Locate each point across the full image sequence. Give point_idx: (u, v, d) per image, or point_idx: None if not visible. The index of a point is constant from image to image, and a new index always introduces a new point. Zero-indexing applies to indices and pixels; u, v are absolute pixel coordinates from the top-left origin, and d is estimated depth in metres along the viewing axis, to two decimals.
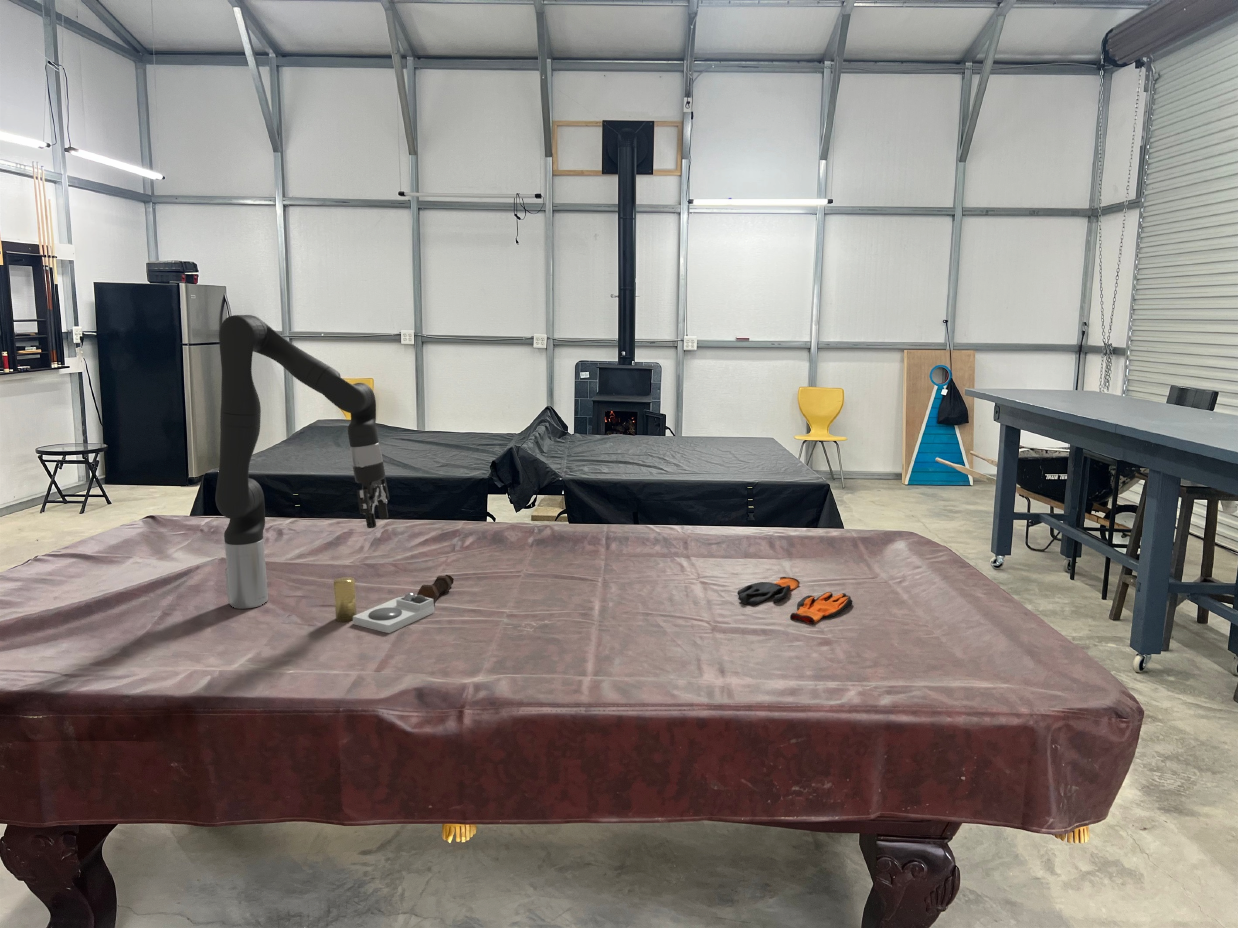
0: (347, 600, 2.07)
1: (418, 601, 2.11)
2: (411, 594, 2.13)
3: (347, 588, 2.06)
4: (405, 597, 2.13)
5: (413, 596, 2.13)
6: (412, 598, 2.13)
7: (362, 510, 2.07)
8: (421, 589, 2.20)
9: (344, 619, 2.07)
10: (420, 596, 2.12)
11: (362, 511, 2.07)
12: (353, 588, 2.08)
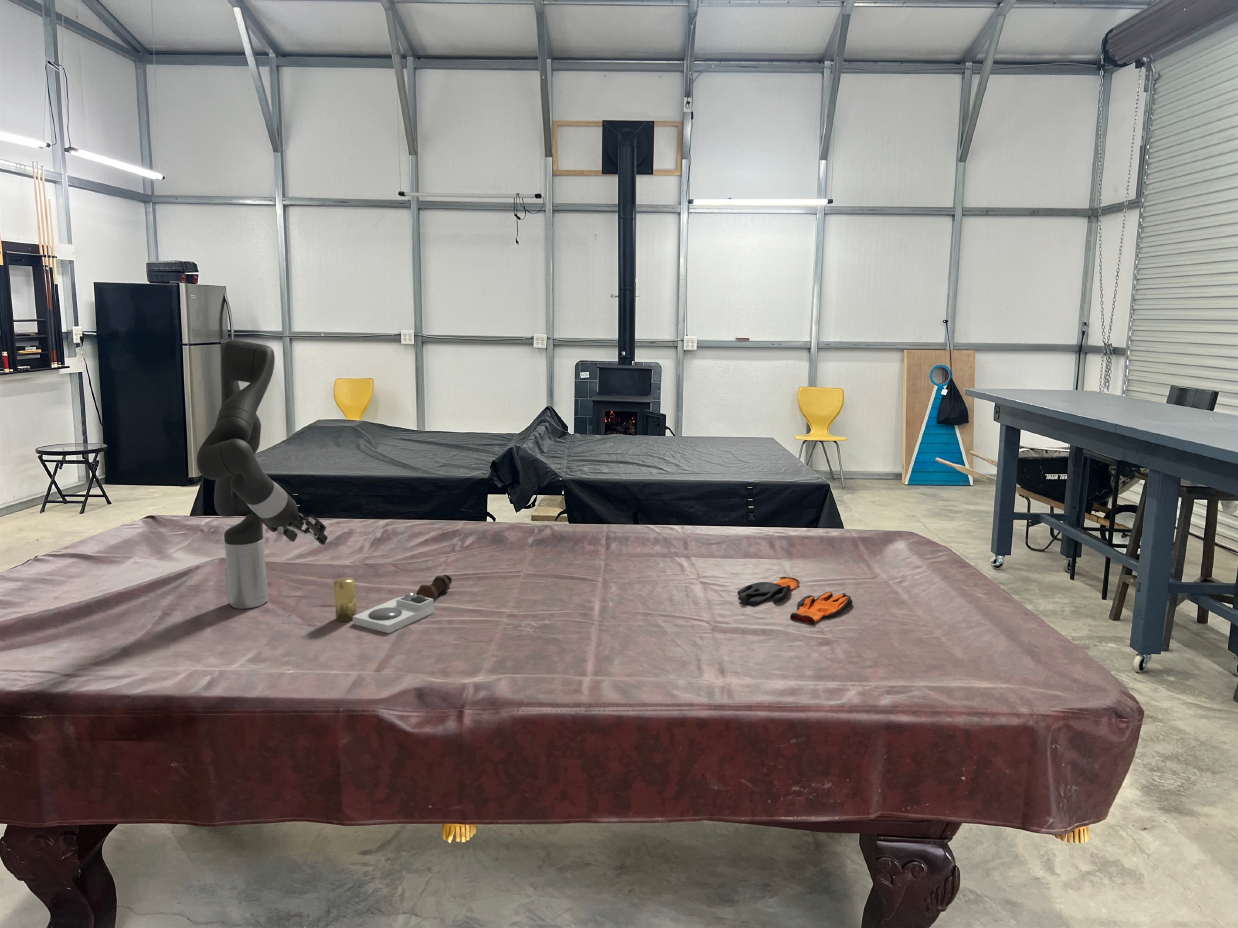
0: (347, 600, 2.07)
1: (418, 601, 2.11)
2: (411, 594, 2.13)
3: (347, 588, 2.06)
4: (405, 597, 2.13)
5: (413, 596, 2.13)
6: (412, 598, 2.13)
7: None
8: (420, 589, 2.19)
9: (344, 619, 2.07)
10: (420, 596, 2.12)
11: None
12: (353, 588, 2.08)
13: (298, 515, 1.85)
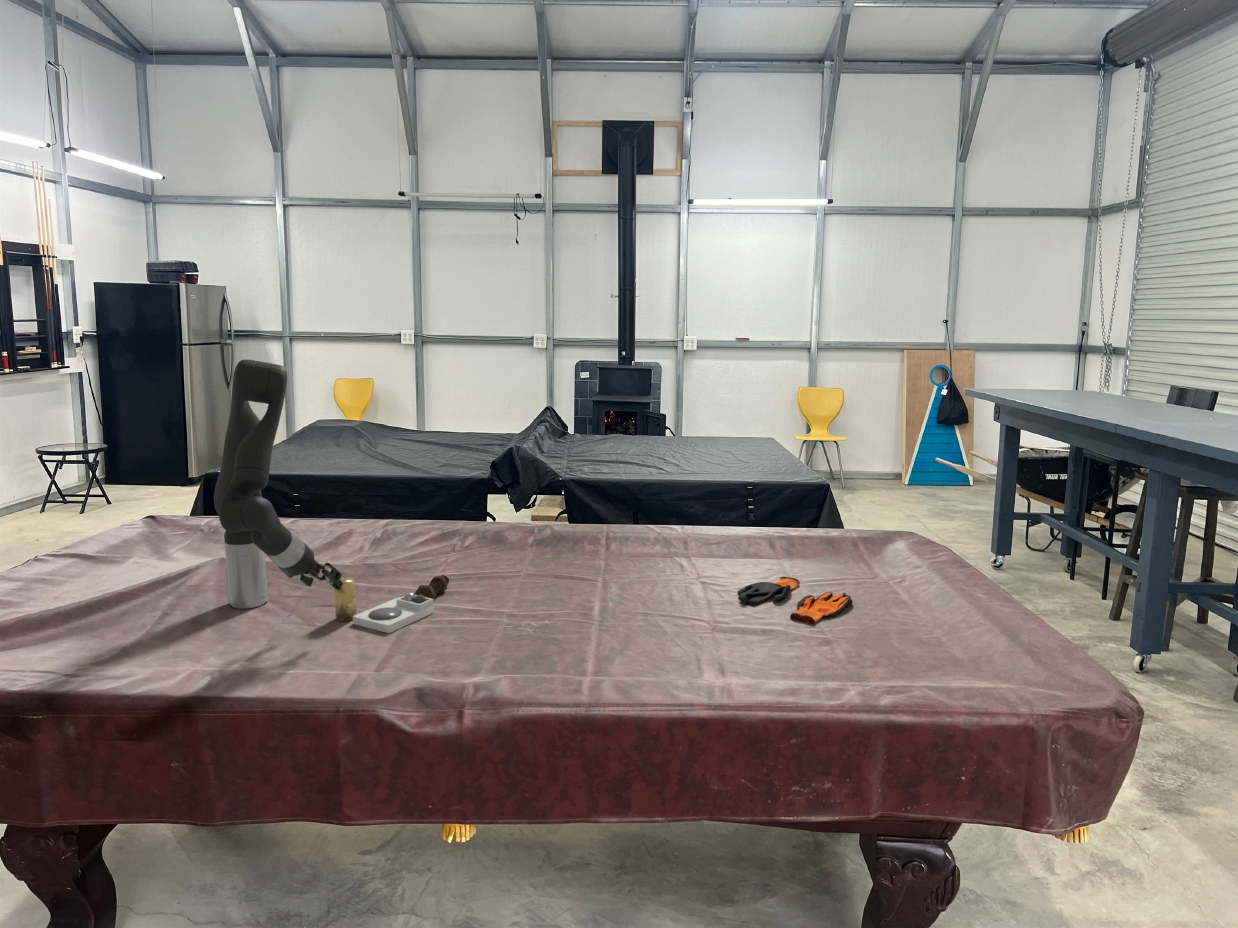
0: (347, 600, 2.07)
1: (418, 601, 2.11)
2: (411, 594, 2.13)
3: (347, 588, 2.06)
4: (405, 597, 2.13)
5: (413, 596, 2.13)
6: (412, 598, 2.13)
7: None
8: (418, 590, 2.19)
9: (344, 619, 2.07)
10: (420, 596, 2.12)
11: None
12: (353, 588, 2.08)
13: (315, 563, 1.92)
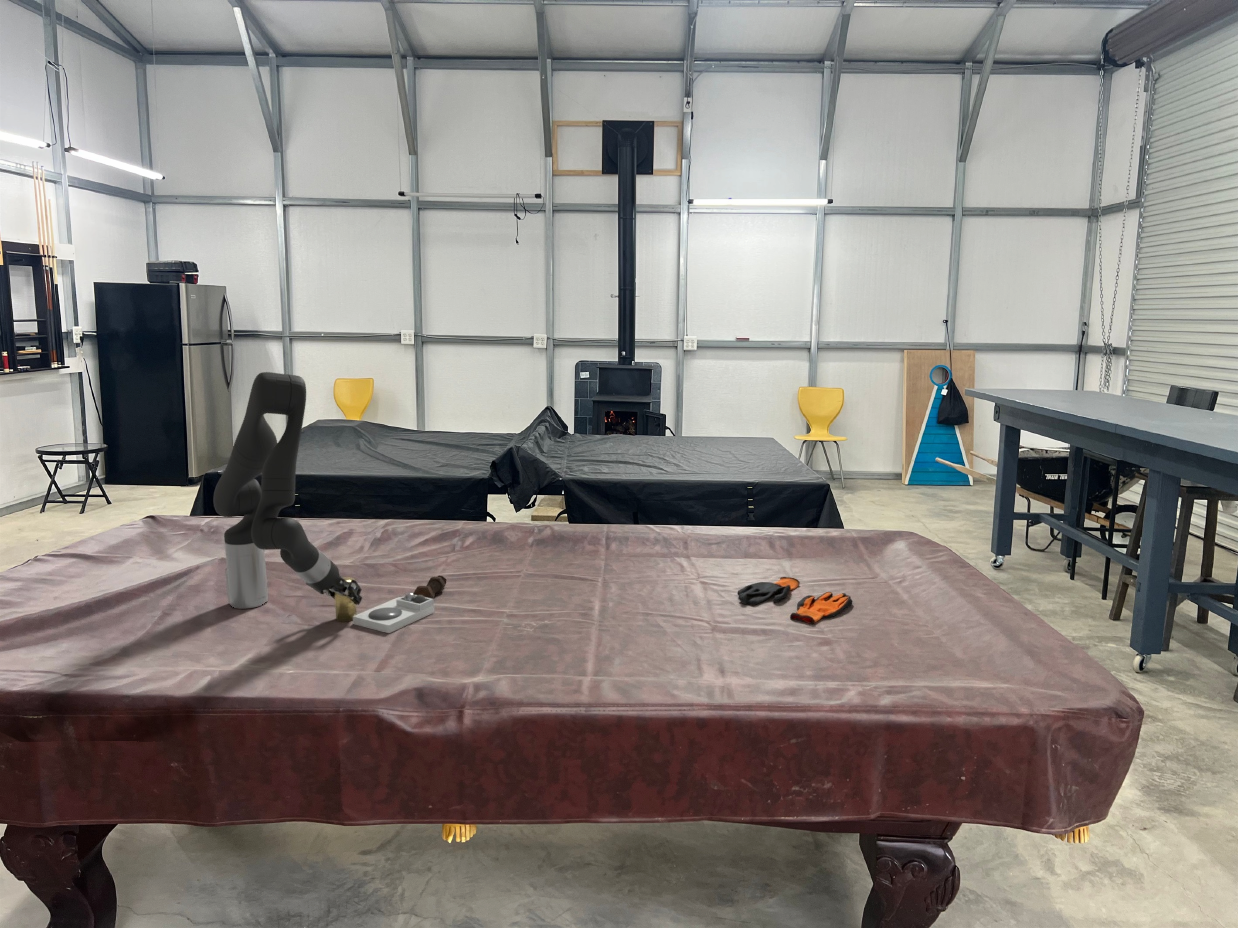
0: (347, 600, 2.07)
1: (418, 601, 2.11)
2: (411, 594, 2.13)
3: None
4: (405, 597, 2.13)
5: (413, 596, 2.13)
6: (412, 598, 2.13)
7: None
8: (416, 590, 2.19)
9: (344, 619, 2.07)
10: (420, 596, 2.12)
11: None
12: None
13: (340, 579, 2.01)
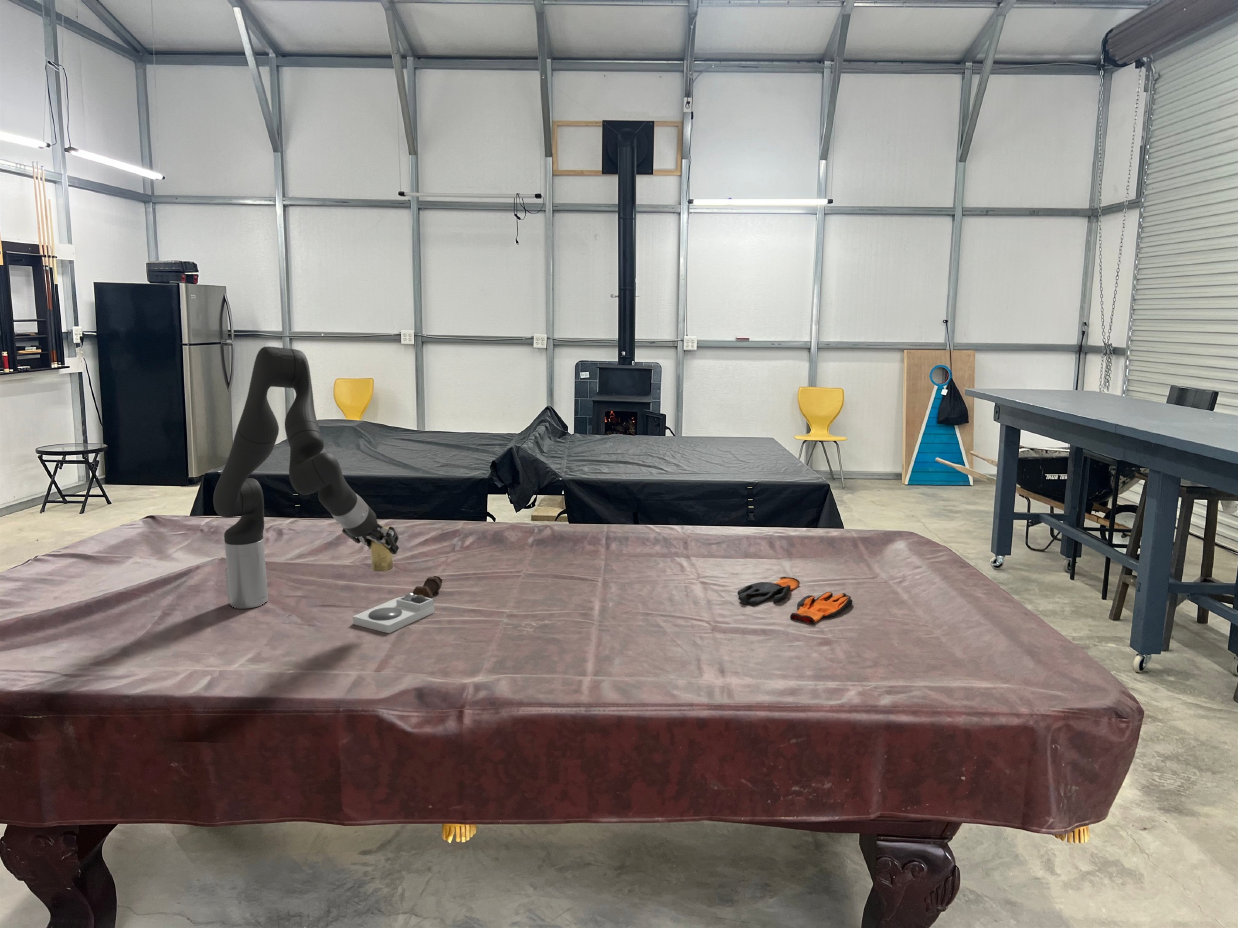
0: (383, 549, 2.01)
1: (418, 601, 2.11)
2: (411, 594, 2.13)
3: None
4: (405, 597, 2.13)
5: (413, 596, 2.13)
6: (412, 598, 2.13)
7: None
8: (415, 591, 2.18)
9: (380, 569, 2.02)
10: (420, 596, 2.12)
11: None
12: None
13: (377, 525, 1.95)
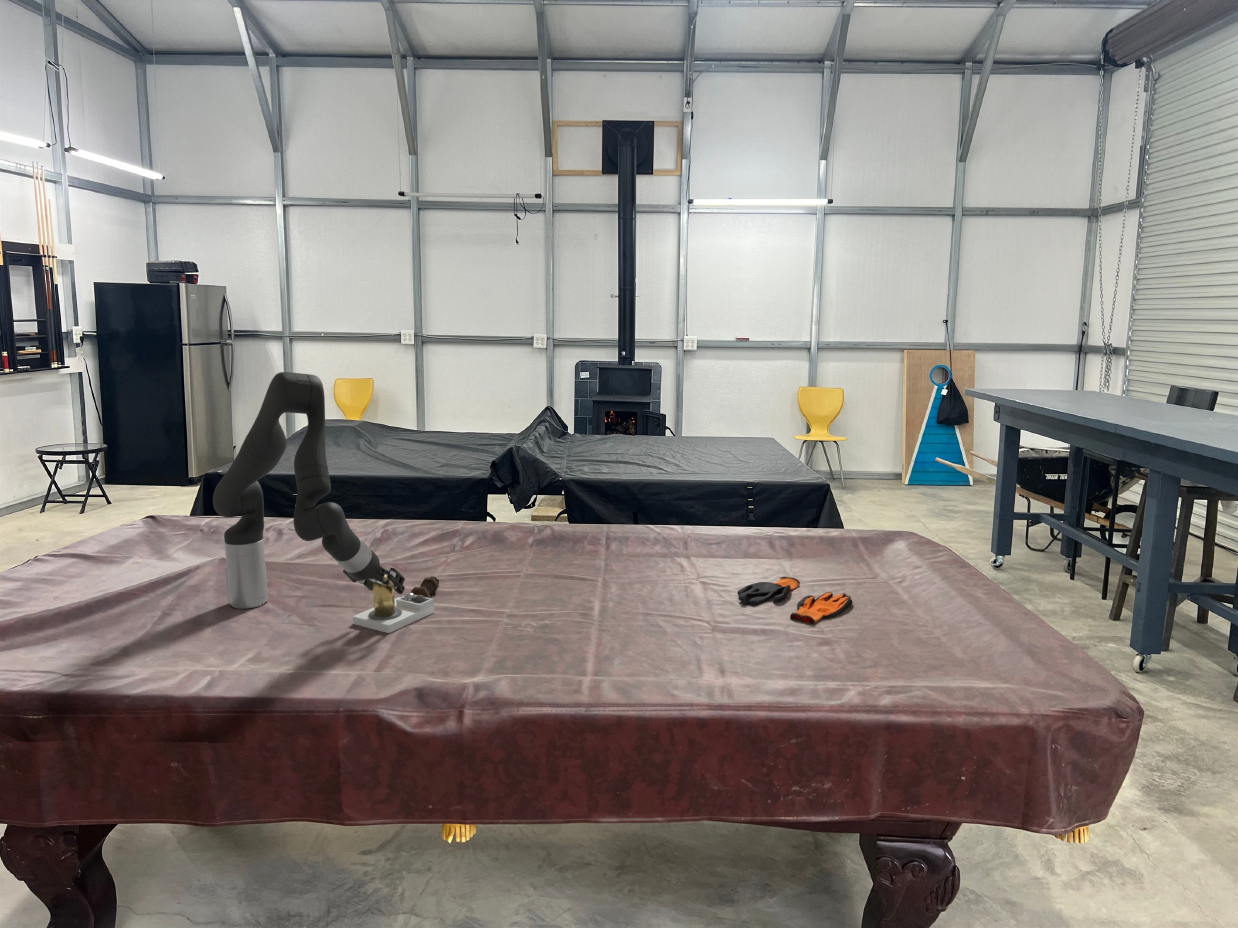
0: (386, 595, 2.04)
1: (418, 601, 2.11)
2: (411, 594, 2.13)
3: None
4: (405, 597, 2.13)
5: (413, 596, 2.13)
6: (412, 598, 2.13)
7: None
8: (413, 592, 2.18)
9: (383, 614, 2.04)
10: (420, 596, 2.12)
11: None
12: (392, 583, 2.05)
13: (380, 568, 1.97)
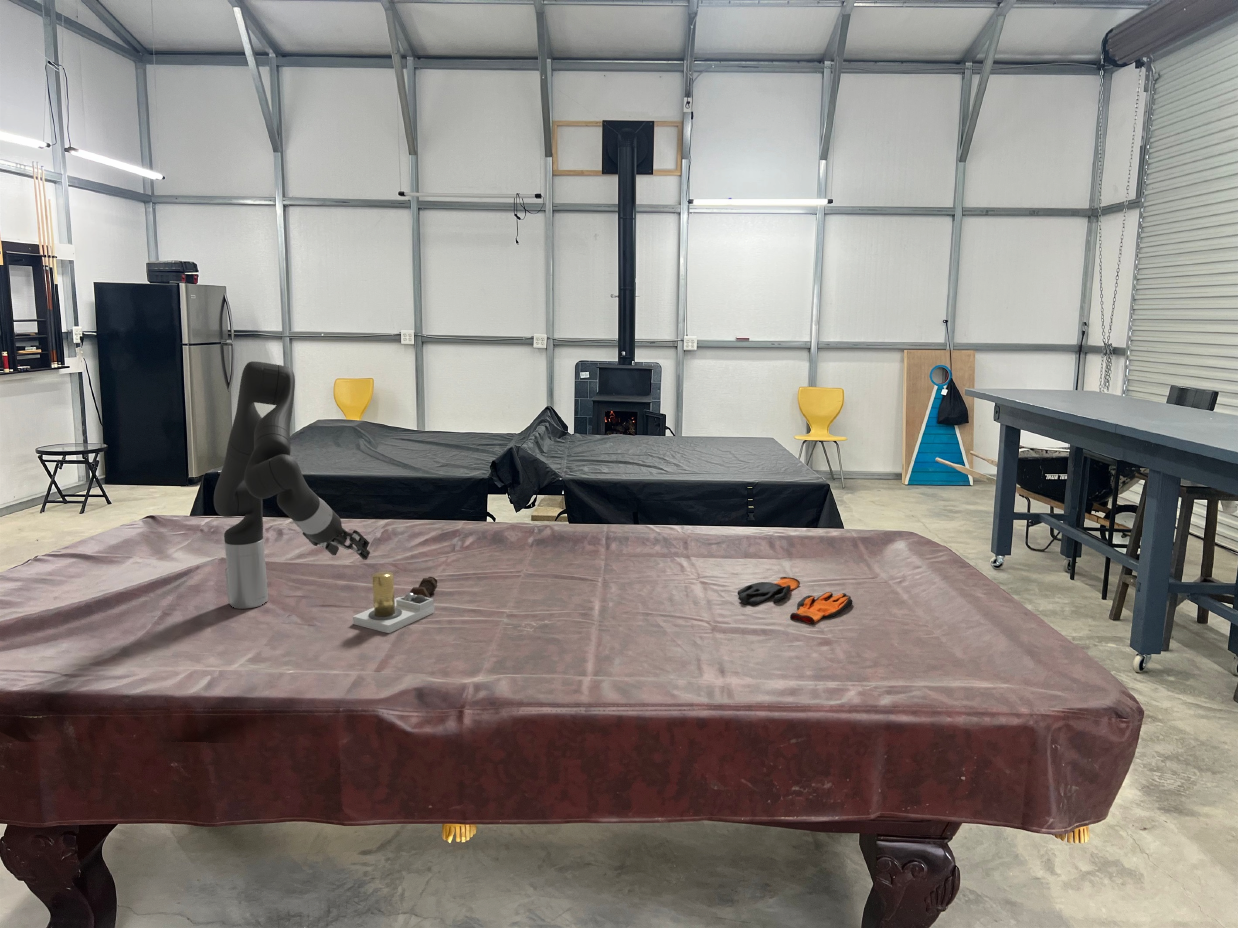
0: (386, 595, 2.04)
1: (418, 601, 2.11)
2: (411, 594, 2.13)
3: (386, 582, 2.03)
4: (405, 597, 2.13)
5: (413, 596, 2.13)
6: (412, 598, 2.13)
7: None
8: (412, 592, 2.17)
9: (383, 614, 2.04)
10: (420, 596, 2.12)
11: None
12: (392, 583, 2.05)
13: (342, 531, 1.83)
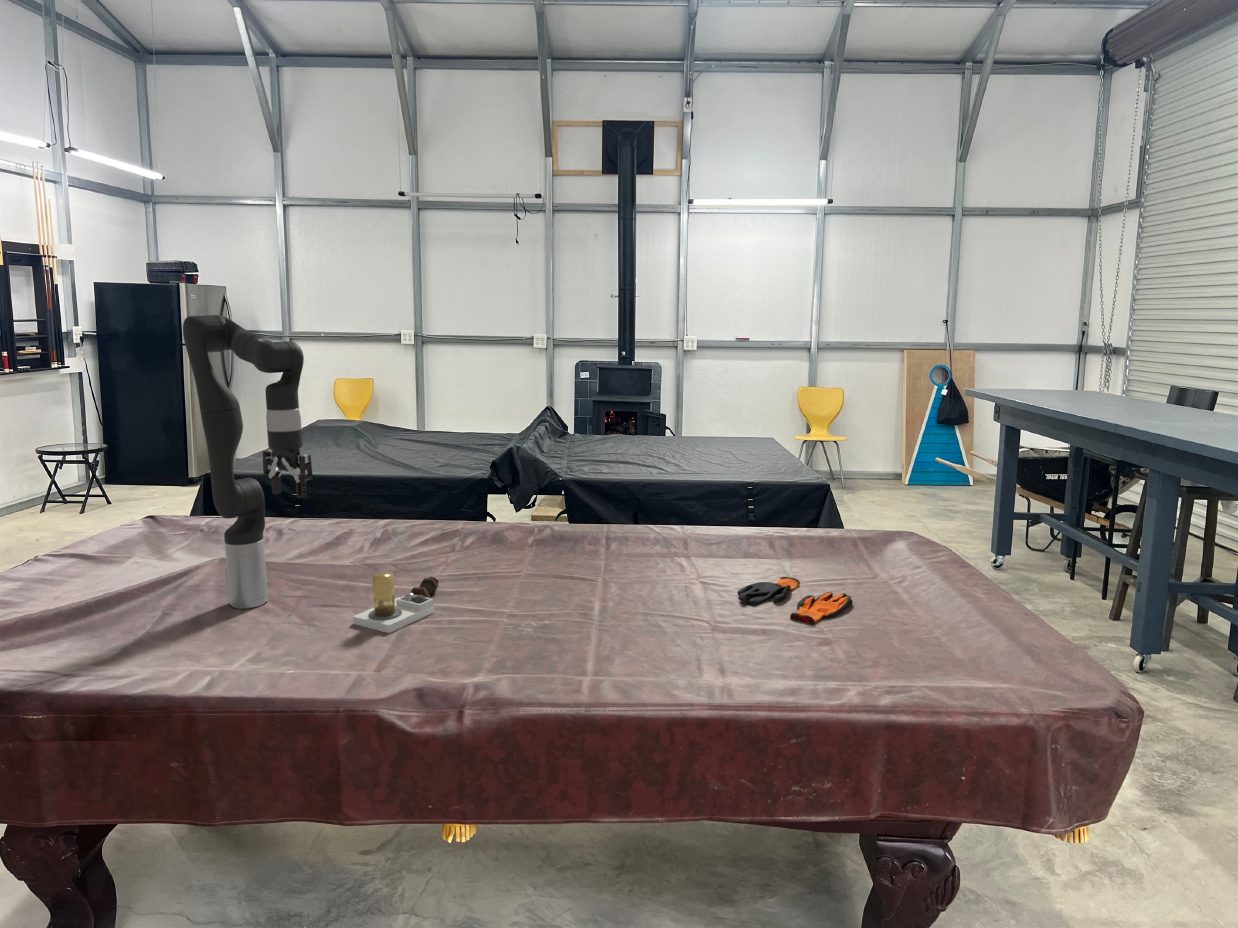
0: (386, 595, 2.04)
1: (418, 601, 2.11)
2: (411, 594, 2.13)
3: (386, 582, 2.03)
4: (405, 597, 2.13)
5: (413, 596, 2.13)
6: (412, 598, 2.13)
7: None
8: (412, 592, 2.17)
9: (383, 614, 2.04)
10: (420, 596, 2.12)
11: None
12: (392, 583, 2.05)
13: (298, 451, 1.94)
